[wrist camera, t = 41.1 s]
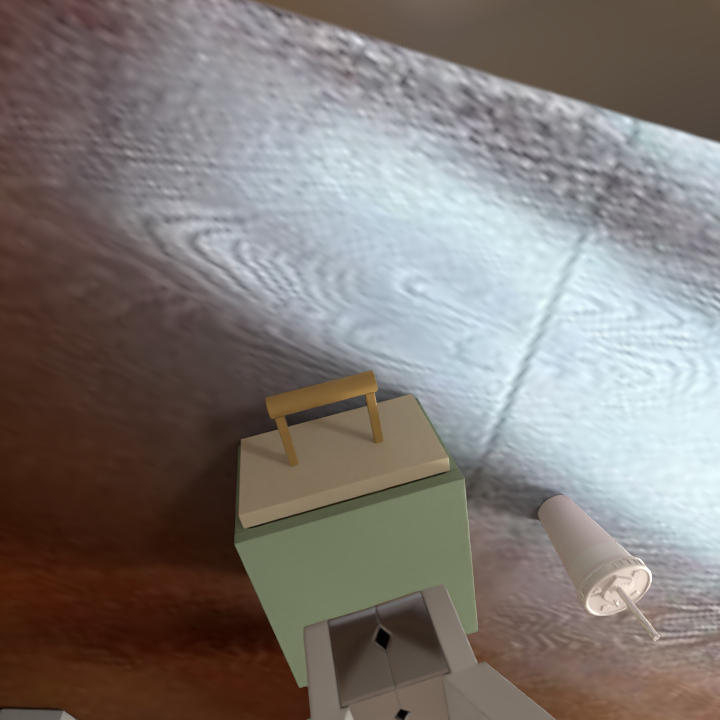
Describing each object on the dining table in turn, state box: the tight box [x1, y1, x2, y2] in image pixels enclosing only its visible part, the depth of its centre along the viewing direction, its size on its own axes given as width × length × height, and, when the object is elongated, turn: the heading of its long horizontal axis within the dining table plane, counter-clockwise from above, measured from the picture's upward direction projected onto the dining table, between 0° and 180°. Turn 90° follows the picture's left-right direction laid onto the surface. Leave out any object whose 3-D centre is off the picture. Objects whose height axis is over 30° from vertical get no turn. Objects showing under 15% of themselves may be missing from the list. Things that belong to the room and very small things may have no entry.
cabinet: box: [234, 398, 478, 688], centre depth 38 cm, size 17×15×10 cm
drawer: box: [238, 370, 450, 529], centre depth 35 cm, size 21×14×8 cm, turn 10°
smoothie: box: [538, 495, 660, 641], centre depth 42 cm, size 6×6×14 cm
